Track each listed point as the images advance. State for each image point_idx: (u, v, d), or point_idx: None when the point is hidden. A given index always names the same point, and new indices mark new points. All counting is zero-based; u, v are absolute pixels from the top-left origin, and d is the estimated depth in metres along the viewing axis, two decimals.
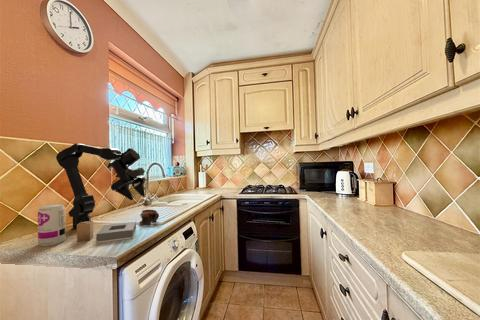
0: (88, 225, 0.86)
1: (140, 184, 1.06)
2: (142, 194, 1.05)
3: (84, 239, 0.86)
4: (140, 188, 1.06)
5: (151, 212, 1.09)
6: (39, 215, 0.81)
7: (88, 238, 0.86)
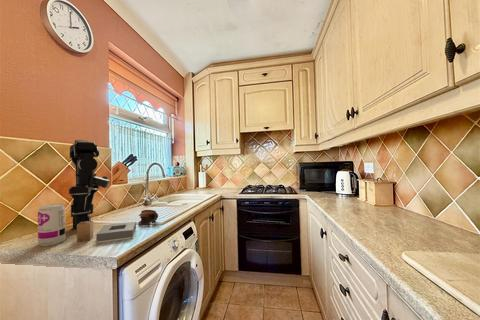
0: (88, 225, 0.86)
1: (93, 191, 0.93)
2: (89, 203, 0.92)
3: (84, 239, 0.86)
4: (90, 195, 0.93)
5: (150, 212, 1.09)
6: (39, 215, 0.81)
7: (88, 238, 0.86)
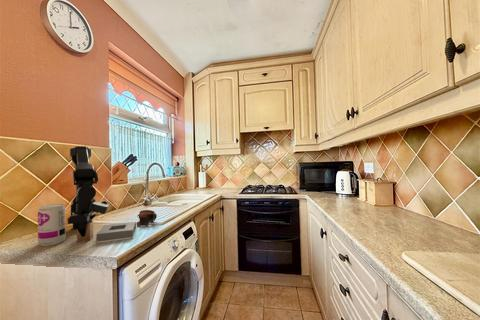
0: (88, 225, 0.86)
1: (91, 217, 0.91)
2: None
3: (84, 239, 0.86)
4: None
5: (149, 212, 1.08)
6: (39, 215, 0.81)
7: (88, 238, 0.86)
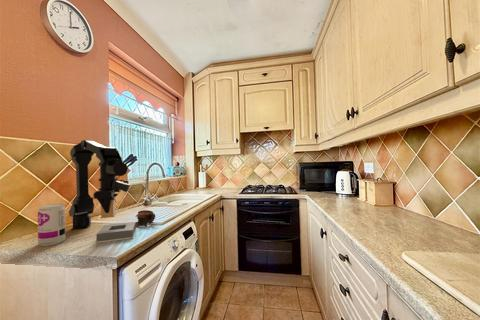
0: (111, 202, 0.89)
1: (113, 196, 0.94)
2: None
3: (108, 215, 0.89)
4: None
5: (147, 213, 1.08)
6: (39, 215, 0.81)
7: (111, 215, 0.89)
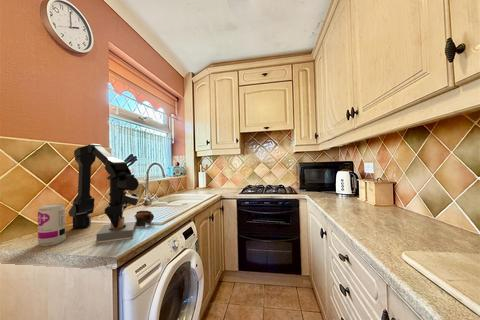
0: (121, 220, 0.91)
1: (122, 208, 0.97)
2: None
3: None
4: None
5: (146, 213, 1.07)
6: (39, 215, 0.81)
7: None
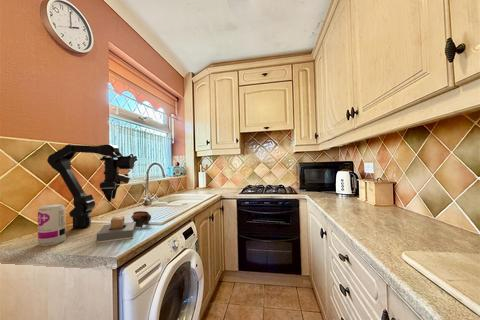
0: (121, 220, 0.91)
1: (116, 186, 1.11)
2: (113, 196, 1.10)
3: None
4: (114, 190, 1.11)
5: (143, 214, 1.06)
6: (39, 215, 0.81)
7: None
